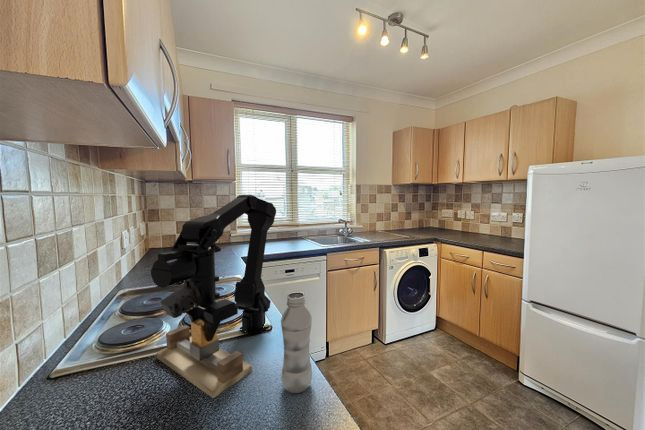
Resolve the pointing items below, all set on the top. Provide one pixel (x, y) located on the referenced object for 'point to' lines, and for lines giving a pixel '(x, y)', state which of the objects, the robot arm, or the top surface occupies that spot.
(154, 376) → the top surface
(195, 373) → the rail board
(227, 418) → the top surface
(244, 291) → the robot arm
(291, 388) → the plastic bottle
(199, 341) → the slider block
